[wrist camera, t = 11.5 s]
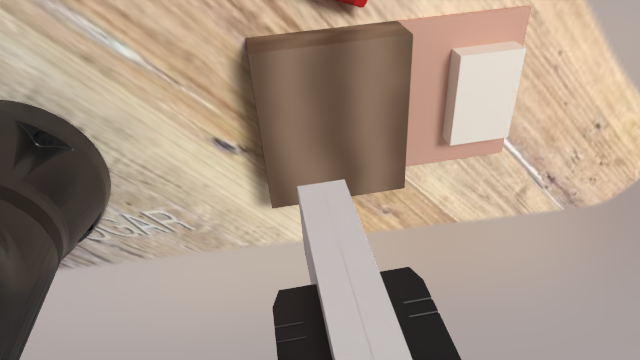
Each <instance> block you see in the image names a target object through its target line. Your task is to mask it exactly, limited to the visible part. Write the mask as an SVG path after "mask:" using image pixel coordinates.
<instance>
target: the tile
mask: <svg viewBox="0 0 640 360" xmlns="http://www.w3.org/2000/svg"><path fill="white" fill-rule="evenodd" d="M525 52H526V48H525V47H524V46H522V45H520V44H519V43H517V42H515V41H511V42H503V43H495V44H487V45H479V46H470V47H462V48H454V49H452V52H451V61H450V70H449V79H448V88H447V97H446V106H445V115H444V124H443V133H442V136H443V137H444V139H445V140H446V141H447V142H448V144H449V145H450V146H452V145H458V144H465V143H472V142H479V141H486V140H493V139H499V138H506V137H508V134H509V129H510V124H511V119H512V115H513V110H514V105H515V100H516V95H517V91H518V86H519V81H520V76H521V72H522V67H523V62H524V57H525Z"/></svg>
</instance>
